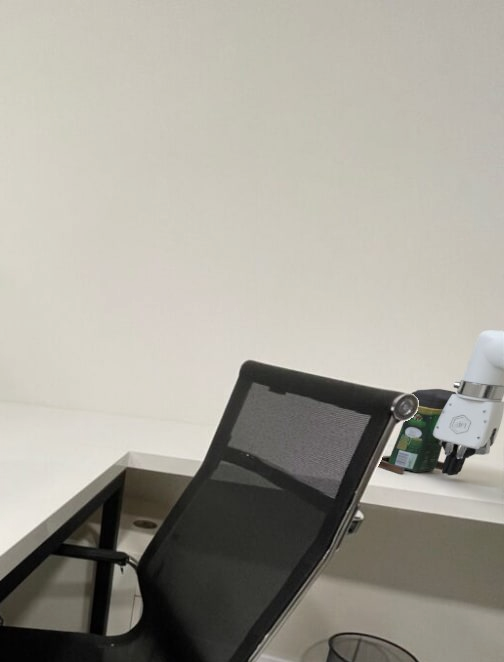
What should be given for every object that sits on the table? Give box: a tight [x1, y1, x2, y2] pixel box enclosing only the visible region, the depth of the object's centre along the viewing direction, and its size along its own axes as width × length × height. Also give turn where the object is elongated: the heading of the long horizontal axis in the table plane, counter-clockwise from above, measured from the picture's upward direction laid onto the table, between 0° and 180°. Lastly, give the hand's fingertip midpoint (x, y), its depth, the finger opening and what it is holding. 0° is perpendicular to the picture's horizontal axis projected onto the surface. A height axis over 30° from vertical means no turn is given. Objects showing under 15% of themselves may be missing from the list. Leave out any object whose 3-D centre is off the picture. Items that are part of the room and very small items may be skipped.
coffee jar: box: [389, 388, 457, 473], centre depth 127 cm, size 10×8×19 cm
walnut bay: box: [378, 455, 444, 475], centre depth 131 cm, size 8×16×2 cm, turn 111°
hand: (449, 473), depth 123 cm, fingers closed
